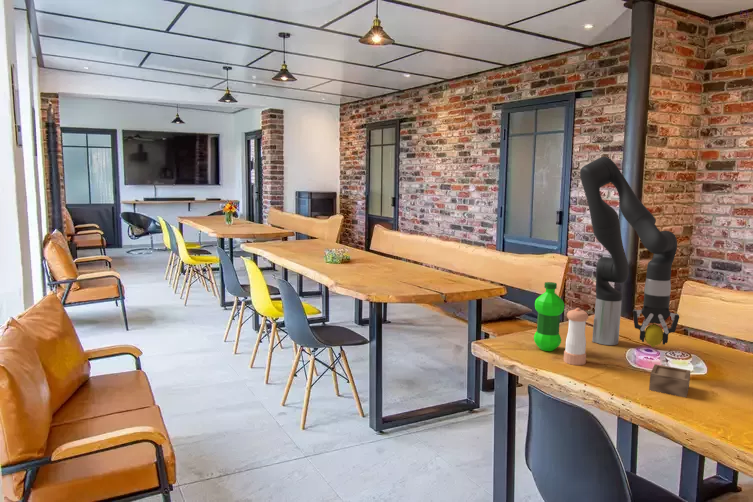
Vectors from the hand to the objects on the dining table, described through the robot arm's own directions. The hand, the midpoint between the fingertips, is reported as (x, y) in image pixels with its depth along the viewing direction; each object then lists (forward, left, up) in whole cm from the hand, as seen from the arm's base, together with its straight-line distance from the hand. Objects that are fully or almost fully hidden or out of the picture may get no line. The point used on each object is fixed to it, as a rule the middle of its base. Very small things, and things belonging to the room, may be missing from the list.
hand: (653, 342), depth 183 cm
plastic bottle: (-35, +9, -11) cm, 38 cm away
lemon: (0, 0, -2) cm, 2 cm away
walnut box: (+5, -13, -11) cm, 17 cm away
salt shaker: (-24, -1, -11) cm, 26 cm away
